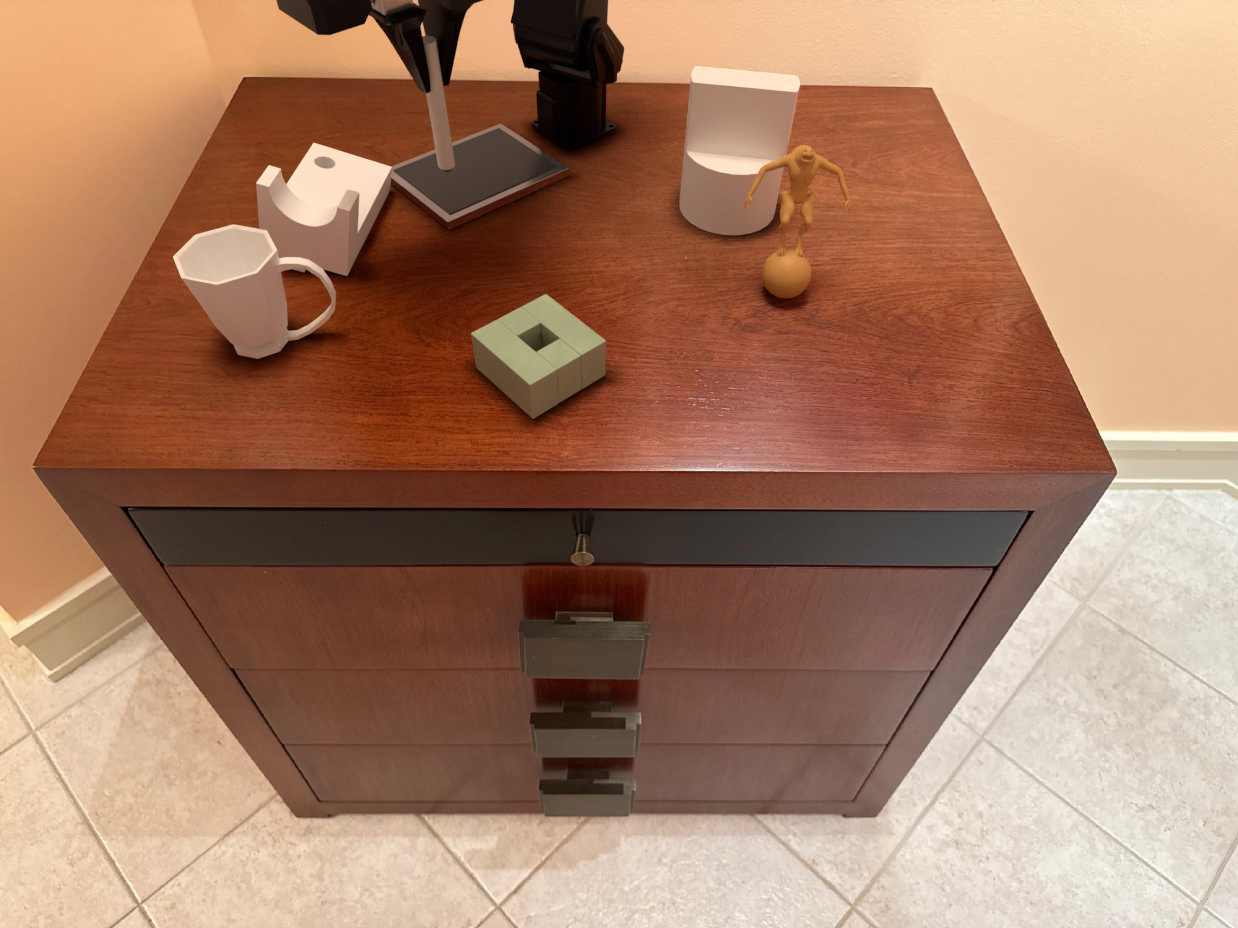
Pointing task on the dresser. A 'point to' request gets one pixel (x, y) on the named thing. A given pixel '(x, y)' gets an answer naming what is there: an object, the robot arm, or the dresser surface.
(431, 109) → the stylus
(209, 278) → the cup
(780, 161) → the figurine
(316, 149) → the bracket
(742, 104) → the cylinder with rectangular tab
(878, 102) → the dresser surface
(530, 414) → the pen stand
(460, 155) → the tablet
